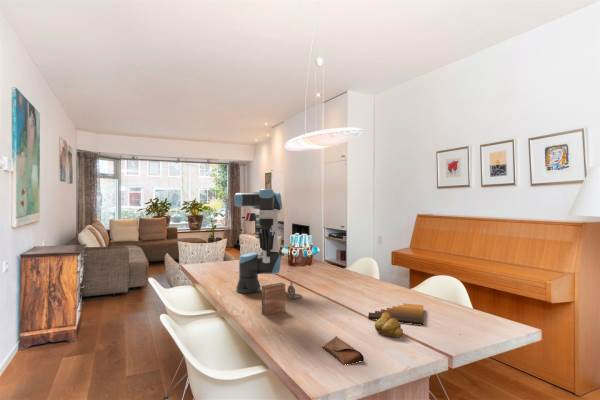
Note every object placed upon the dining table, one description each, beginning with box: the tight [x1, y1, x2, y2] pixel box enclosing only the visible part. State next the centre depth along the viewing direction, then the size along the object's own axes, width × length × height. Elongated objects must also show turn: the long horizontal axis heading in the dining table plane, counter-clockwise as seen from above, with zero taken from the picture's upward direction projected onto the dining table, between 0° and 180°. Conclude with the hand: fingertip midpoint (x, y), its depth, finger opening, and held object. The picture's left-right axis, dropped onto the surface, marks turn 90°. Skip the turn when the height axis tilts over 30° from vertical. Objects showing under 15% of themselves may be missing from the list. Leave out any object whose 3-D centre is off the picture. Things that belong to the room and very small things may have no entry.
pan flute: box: [367, 302, 424, 326], centre depth 175 cm, size 25×3×25 cm
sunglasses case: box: [320, 335, 365, 366], centre depth 131 cm, size 18×7×7 cm
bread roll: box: [374, 312, 404, 338], centre depth 150 cm, size 13×10×8 cm
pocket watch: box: [287, 281, 303, 299], centre depth 204 cm, size 8×8×10 cm
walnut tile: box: [261, 282, 286, 316], centre depth 178 cm, size 4×12×14 cm, turn 127°
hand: (266, 262), depth 184 cm, fingers closed
